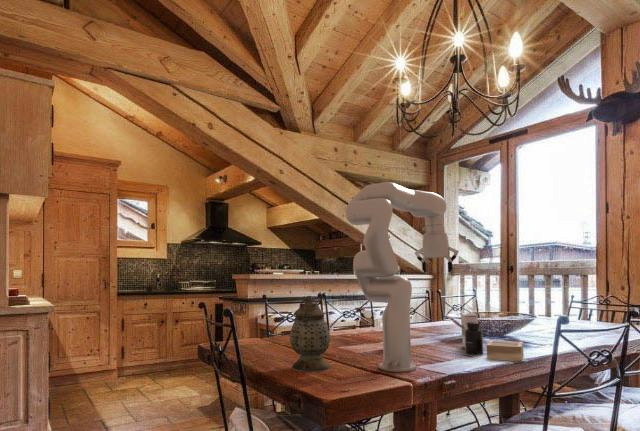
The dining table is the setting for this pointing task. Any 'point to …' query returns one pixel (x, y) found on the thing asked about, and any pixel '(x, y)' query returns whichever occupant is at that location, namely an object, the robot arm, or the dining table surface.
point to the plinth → (505, 350)
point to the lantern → (309, 337)
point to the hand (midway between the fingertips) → (437, 272)
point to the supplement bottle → (473, 339)
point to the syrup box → (464, 319)
